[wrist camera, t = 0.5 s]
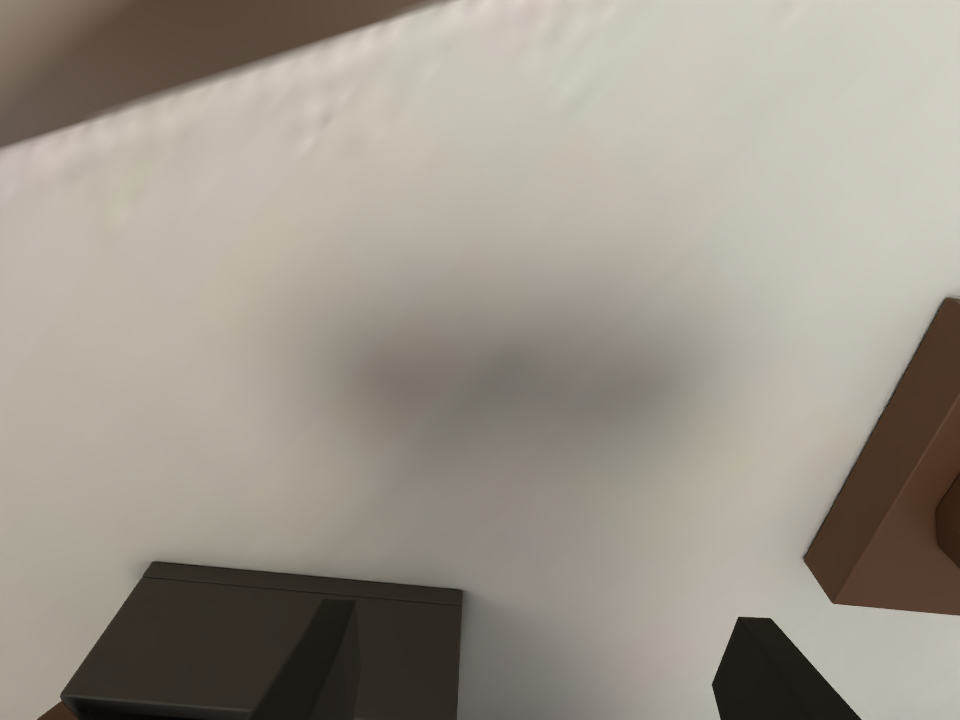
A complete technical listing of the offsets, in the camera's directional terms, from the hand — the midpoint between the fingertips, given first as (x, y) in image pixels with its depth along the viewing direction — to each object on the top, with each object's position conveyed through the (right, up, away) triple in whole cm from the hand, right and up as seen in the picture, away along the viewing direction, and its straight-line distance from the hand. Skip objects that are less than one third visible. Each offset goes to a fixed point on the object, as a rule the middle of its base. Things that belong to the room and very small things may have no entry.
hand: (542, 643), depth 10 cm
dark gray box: (-9, -10, +16) cm, 21 cm away
